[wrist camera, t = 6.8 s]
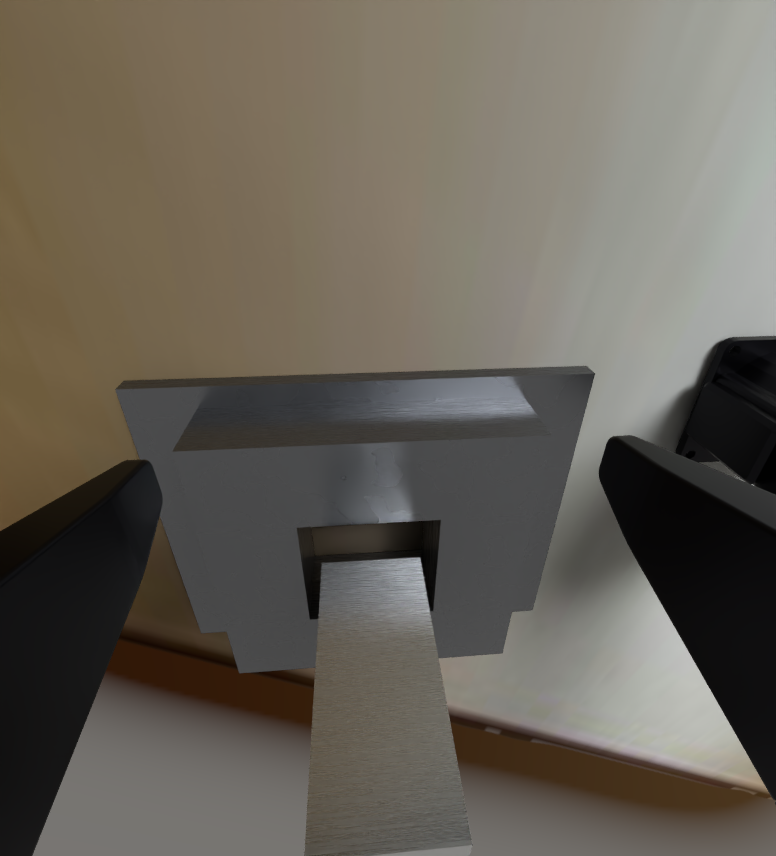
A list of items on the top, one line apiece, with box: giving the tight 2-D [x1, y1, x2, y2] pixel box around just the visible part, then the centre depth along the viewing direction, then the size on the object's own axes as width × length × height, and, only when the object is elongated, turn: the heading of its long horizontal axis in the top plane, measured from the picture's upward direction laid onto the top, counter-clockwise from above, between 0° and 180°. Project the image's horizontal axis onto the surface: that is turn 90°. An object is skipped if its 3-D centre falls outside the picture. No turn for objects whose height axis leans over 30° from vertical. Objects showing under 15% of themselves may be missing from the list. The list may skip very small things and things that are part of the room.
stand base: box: [115, 366, 595, 673], centre depth 21 cm, size 20×16×6 cm
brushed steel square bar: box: [304, 557, 472, 856], centre depth 16 cm, size 4×4×9 cm
